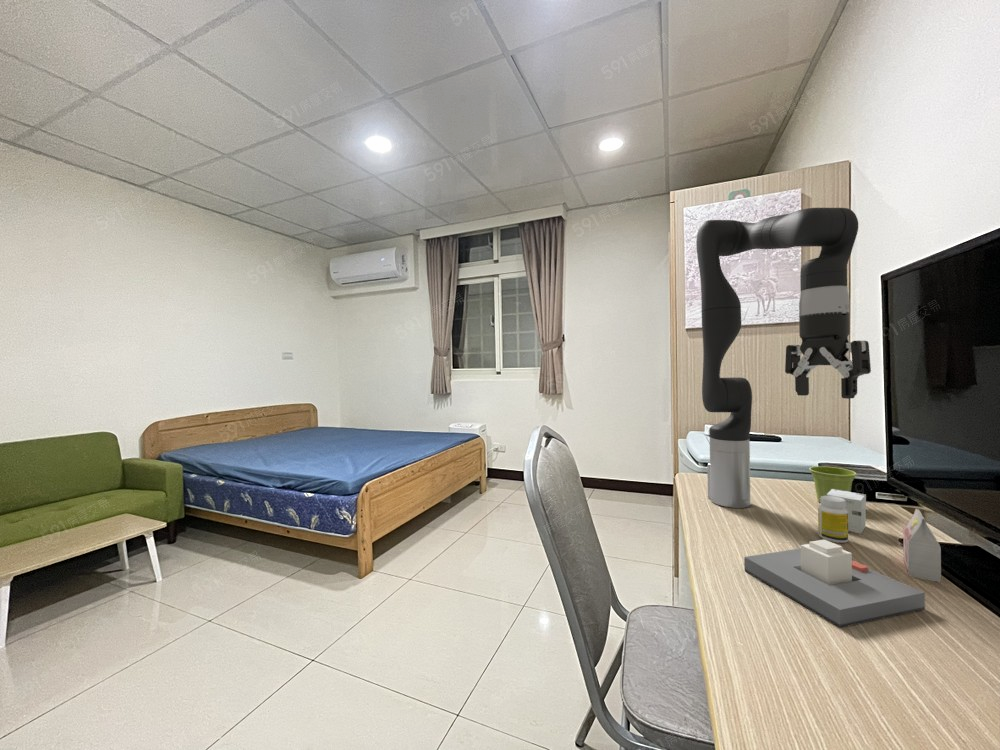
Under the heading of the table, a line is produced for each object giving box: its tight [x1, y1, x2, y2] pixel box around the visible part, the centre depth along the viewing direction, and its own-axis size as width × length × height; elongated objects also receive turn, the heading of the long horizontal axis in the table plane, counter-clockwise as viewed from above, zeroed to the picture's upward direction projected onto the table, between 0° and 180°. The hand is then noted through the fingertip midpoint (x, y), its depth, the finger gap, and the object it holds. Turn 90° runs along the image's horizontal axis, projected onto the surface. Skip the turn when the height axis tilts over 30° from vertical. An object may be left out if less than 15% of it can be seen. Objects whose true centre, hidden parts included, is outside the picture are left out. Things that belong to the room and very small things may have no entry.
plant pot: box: [808, 465, 857, 503], centre depth 103 cm, size 9×9×9 cm
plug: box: [800, 539, 853, 586], centre depth 64 cm, size 4×5×7 cm
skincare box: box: [827, 489, 867, 535], centre depth 88 cm, size 6×6×7 cm
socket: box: [743, 547, 926, 628], centre depth 64 cm, size 16×16×3 cm
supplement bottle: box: [817, 496, 849, 544], centre depth 82 cm, size 5×5×8 cm
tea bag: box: [902, 508, 942, 583], centre depth 69 cm, size 4×7×10 cm, turn 140°
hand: (824, 396), depth 77 cm, fingers open, 8 cm apart
